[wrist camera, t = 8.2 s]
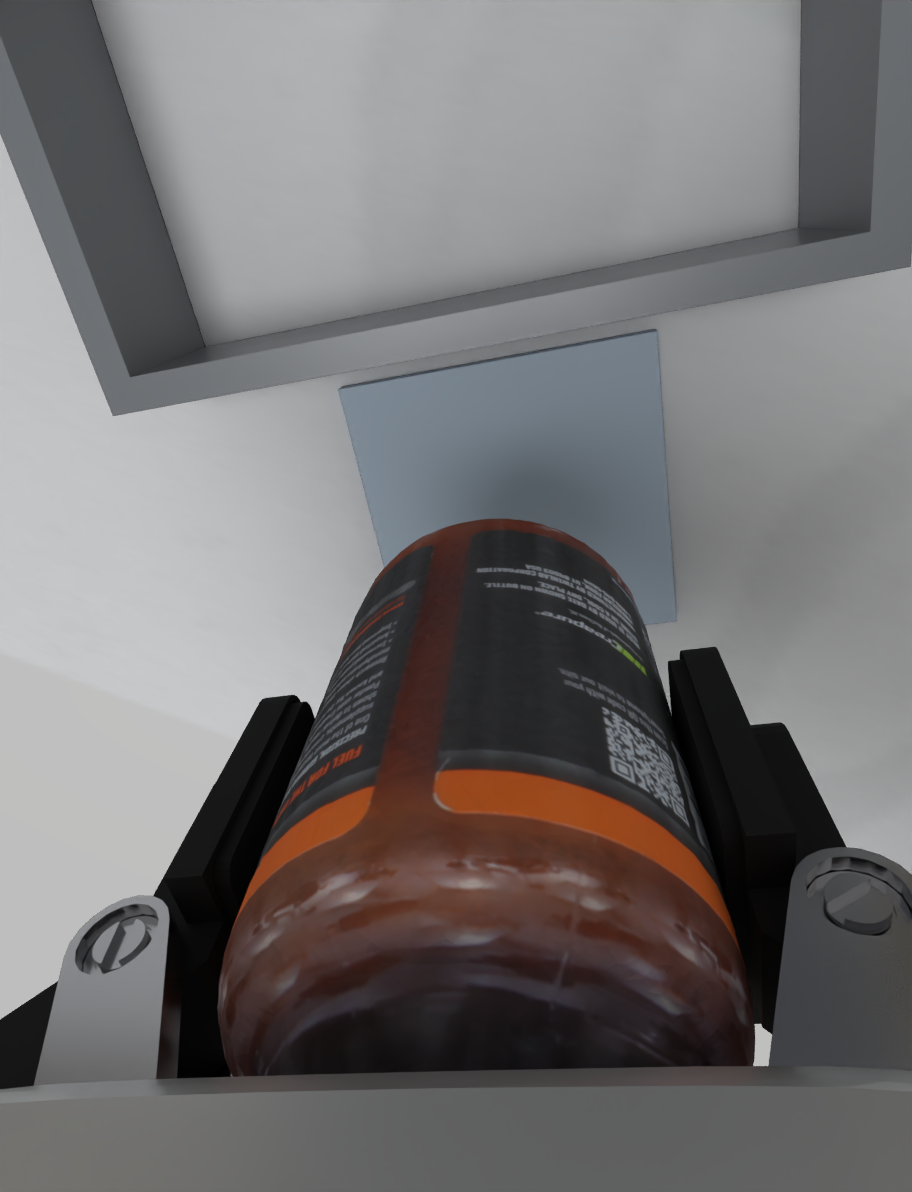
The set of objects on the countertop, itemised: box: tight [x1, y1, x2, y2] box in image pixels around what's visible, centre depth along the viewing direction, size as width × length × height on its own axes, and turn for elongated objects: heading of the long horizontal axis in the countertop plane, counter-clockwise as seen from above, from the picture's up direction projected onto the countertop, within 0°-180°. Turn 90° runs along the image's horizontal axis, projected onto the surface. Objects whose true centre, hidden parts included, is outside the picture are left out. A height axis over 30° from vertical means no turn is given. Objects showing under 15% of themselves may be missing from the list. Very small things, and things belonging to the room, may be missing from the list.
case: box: [0, 0, 912, 416], centre depth 16 cm, size 11×18×4 cm, turn 101°
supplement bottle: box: [217, 519, 755, 1077], centre depth 11 cm, size 6×6×11 cm
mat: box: [338, 329, 677, 625], centre depth 23 cm, size 9×9×1 cm
